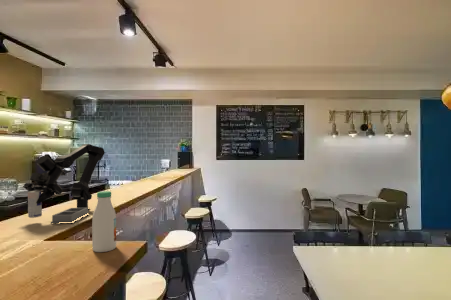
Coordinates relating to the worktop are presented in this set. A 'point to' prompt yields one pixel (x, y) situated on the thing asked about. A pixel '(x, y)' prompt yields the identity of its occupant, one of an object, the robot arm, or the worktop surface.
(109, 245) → the milk bottle
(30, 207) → the energy drink
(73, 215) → the drink carrier
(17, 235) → the worktop surface
